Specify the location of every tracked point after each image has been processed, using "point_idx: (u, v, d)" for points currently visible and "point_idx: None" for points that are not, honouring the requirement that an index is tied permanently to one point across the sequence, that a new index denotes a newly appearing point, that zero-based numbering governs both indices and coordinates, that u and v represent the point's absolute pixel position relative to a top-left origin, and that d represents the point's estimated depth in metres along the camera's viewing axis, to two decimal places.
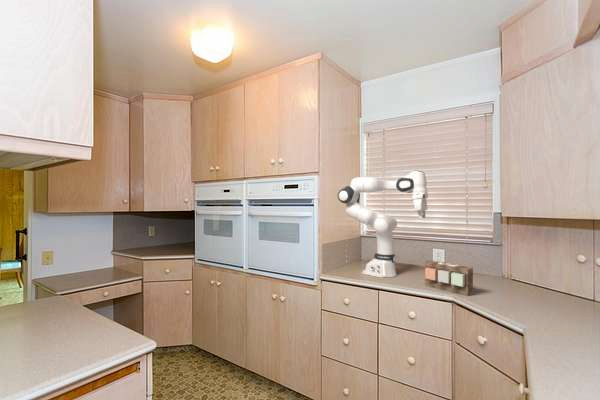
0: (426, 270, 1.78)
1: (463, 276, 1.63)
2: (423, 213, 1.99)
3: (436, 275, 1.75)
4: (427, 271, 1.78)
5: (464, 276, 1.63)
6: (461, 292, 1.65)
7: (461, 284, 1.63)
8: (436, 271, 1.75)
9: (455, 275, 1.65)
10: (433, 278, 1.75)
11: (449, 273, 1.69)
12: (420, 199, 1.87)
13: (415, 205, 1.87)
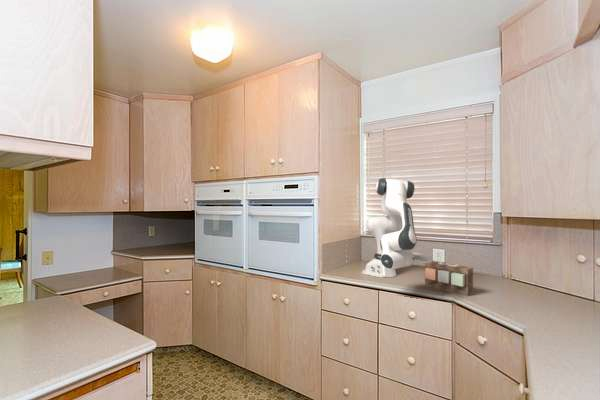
0: (426, 270, 1.78)
1: (463, 276, 1.63)
2: None
3: (436, 275, 1.75)
4: (427, 271, 1.78)
5: (464, 276, 1.63)
6: (461, 292, 1.65)
7: (461, 284, 1.63)
8: (436, 271, 1.75)
9: (455, 275, 1.65)
10: (433, 278, 1.75)
11: (449, 273, 1.69)
12: None
13: None
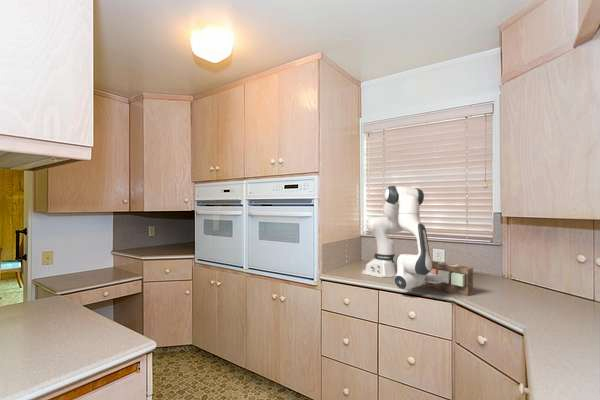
0: None
1: (463, 276, 1.63)
2: None
3: None
4: None
5: (464, 276, 1.63)
6: (461, 292, 1.65)
7: (461, 284, 1.63)
8: (437, 271, 1.75)
9: (455, 275, 1.65)
10: None
11: (449, 273, 1.69)
12: None
13: None
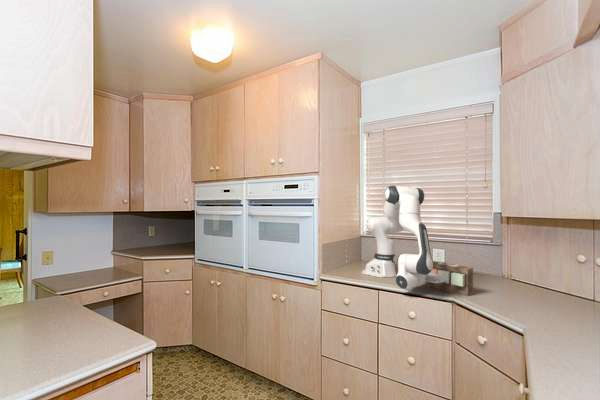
0: None
1: (463, 276, 1.63)
2: None
3: None
4: None
5: (464, 276, 1.63)
6: (461, 292, 1.65)
7: (461, 284, 1.63)
8: None
9: (455, 275, 1.65)
10: None
11: (449, 273, 1.69)
12: None
13: None
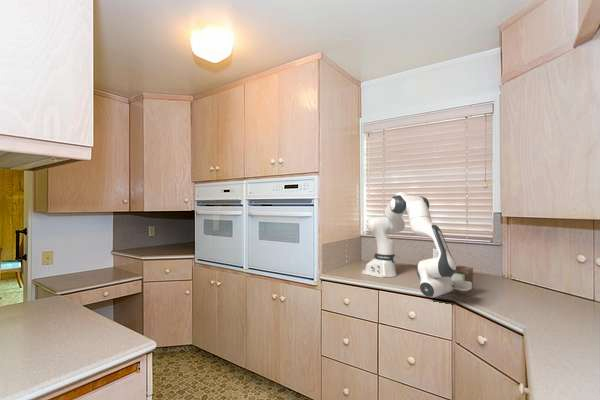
0: None
1: (463, 275, 1.63)
2: None
3: None
4: None
5: (464, 276, 1.64)
6: (461, 292, 1.65)
7: None
8: None
9: (455, 275, 1.65)
10: None
11: None
12: None
13: None
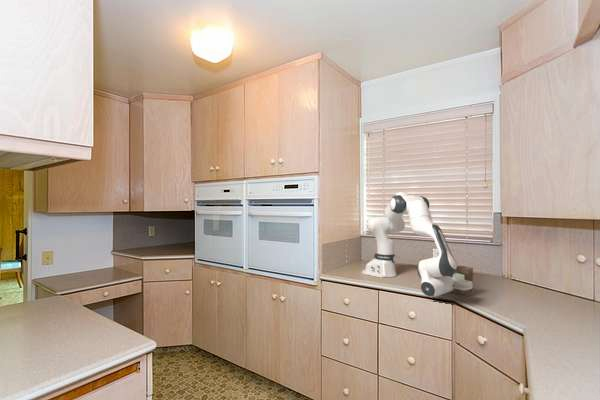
0: None
1: (465, 275, 1.64)
2: None
3: None
4: None
5: None
6: (461, 292, 1.65)
7: None
8: None
9: (457, 274, 1.66)
10: None
11: None
12: None
13: None
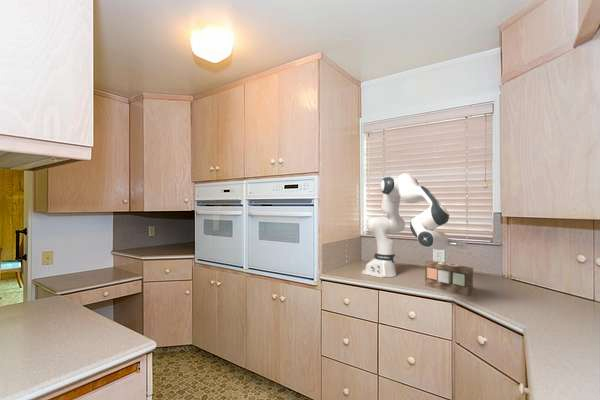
0: (427, 270, 1.80)
1: (465, 275, 1.64)
2: None
3: None
4: (429, 271, 1.79)
5: None
6: (461, 292, 1.65)
7: (463, 283, 1.64)
8: None
9: (457, 274, 1.66)
10: (435, 278, 1.76)
11: (449, 273, 1.69)
12: None
13: None
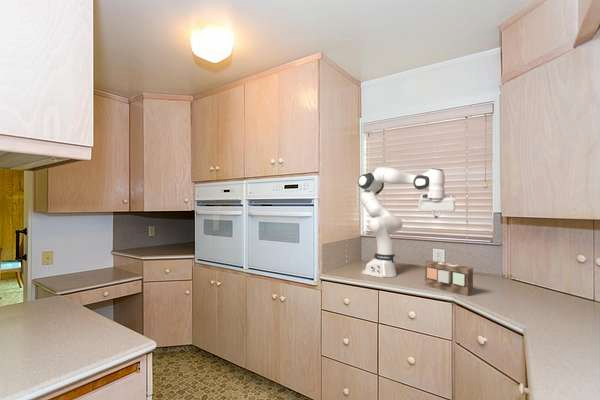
0: (427, 270, 1.80)
1: (465, 275, 1.64)
2: (438, 214, 1.85)
3: None
4: (429, 271, 1.79)
5: None
6: (461, 292, 1.65)
7: (463, 283, 1.64)
8: None
9: (457, 274, 1.66)
10: (435, 278, 1.76)
11: (449, 273, 1.69)
12: (420, 199, 1.89)
13: None
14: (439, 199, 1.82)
